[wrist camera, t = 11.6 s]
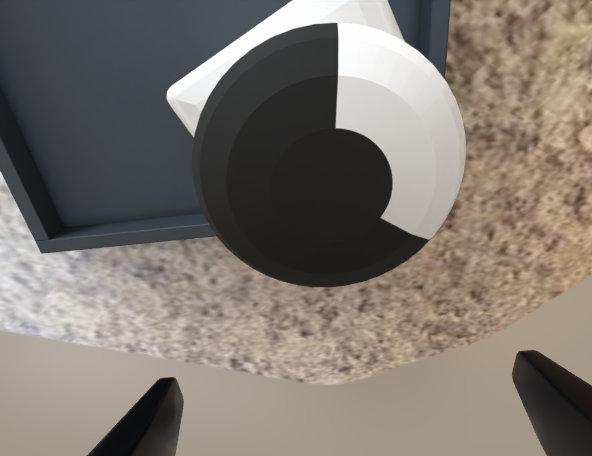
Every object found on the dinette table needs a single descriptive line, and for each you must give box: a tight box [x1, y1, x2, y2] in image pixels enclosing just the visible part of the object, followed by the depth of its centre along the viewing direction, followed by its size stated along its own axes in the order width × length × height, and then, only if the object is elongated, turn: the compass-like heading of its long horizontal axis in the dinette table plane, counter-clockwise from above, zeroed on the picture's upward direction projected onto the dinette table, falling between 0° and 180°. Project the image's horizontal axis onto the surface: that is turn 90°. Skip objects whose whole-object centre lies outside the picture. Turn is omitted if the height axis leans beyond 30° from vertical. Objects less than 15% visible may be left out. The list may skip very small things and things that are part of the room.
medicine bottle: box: [167, 0, 466, 287], centre depth 13 cm, size 7×7×12 cm
